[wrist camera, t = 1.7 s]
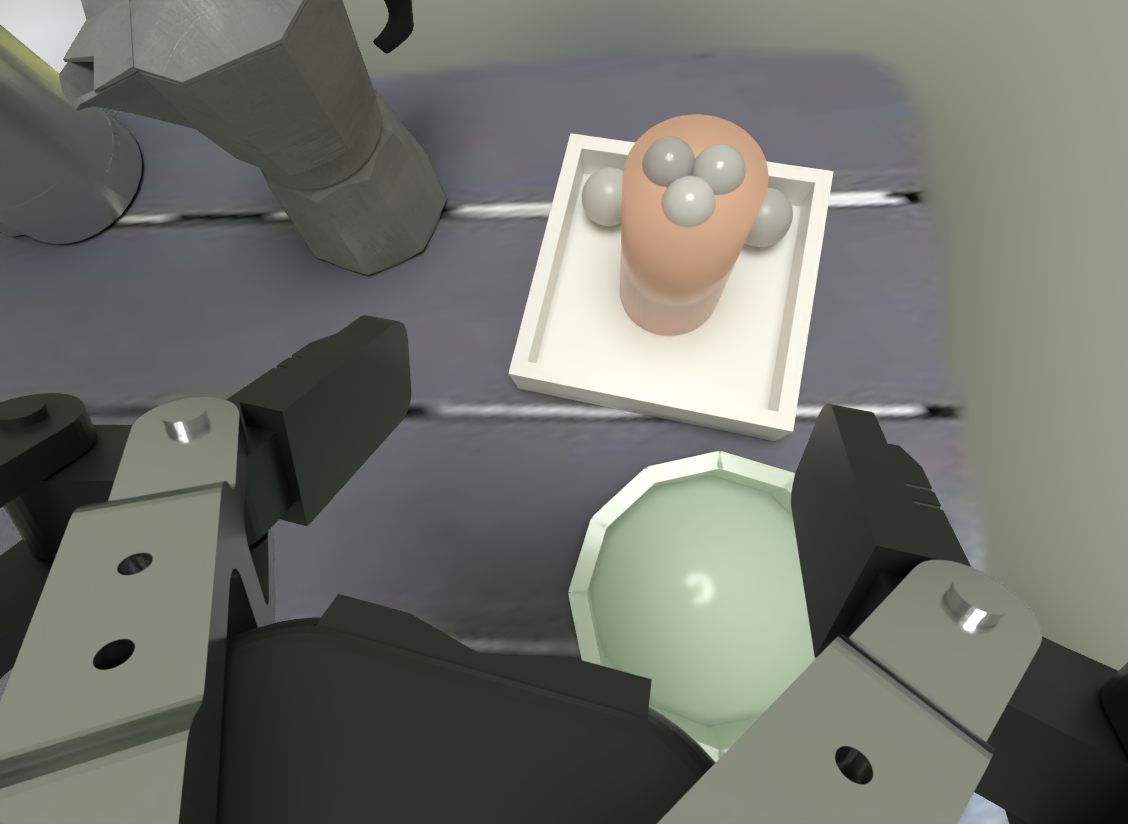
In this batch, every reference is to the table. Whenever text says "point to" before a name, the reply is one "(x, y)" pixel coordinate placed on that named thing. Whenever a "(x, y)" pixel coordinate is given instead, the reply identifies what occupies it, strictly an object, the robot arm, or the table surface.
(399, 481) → the table surface
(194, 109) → the coffeepot
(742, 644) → the sage bowl
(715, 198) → the pebble pot
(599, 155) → the parts tray
